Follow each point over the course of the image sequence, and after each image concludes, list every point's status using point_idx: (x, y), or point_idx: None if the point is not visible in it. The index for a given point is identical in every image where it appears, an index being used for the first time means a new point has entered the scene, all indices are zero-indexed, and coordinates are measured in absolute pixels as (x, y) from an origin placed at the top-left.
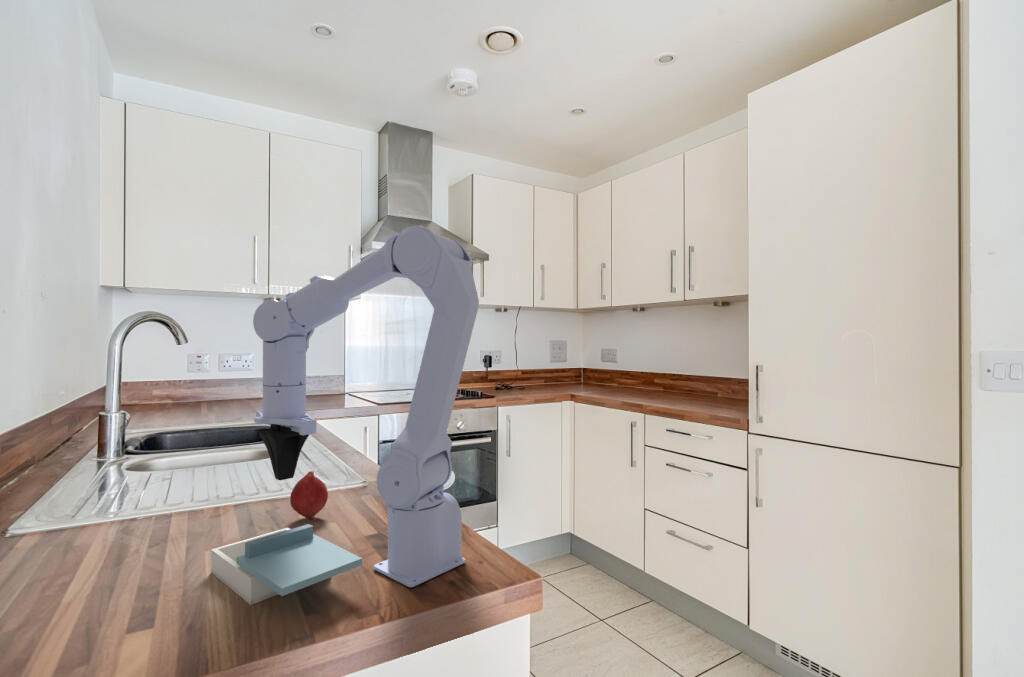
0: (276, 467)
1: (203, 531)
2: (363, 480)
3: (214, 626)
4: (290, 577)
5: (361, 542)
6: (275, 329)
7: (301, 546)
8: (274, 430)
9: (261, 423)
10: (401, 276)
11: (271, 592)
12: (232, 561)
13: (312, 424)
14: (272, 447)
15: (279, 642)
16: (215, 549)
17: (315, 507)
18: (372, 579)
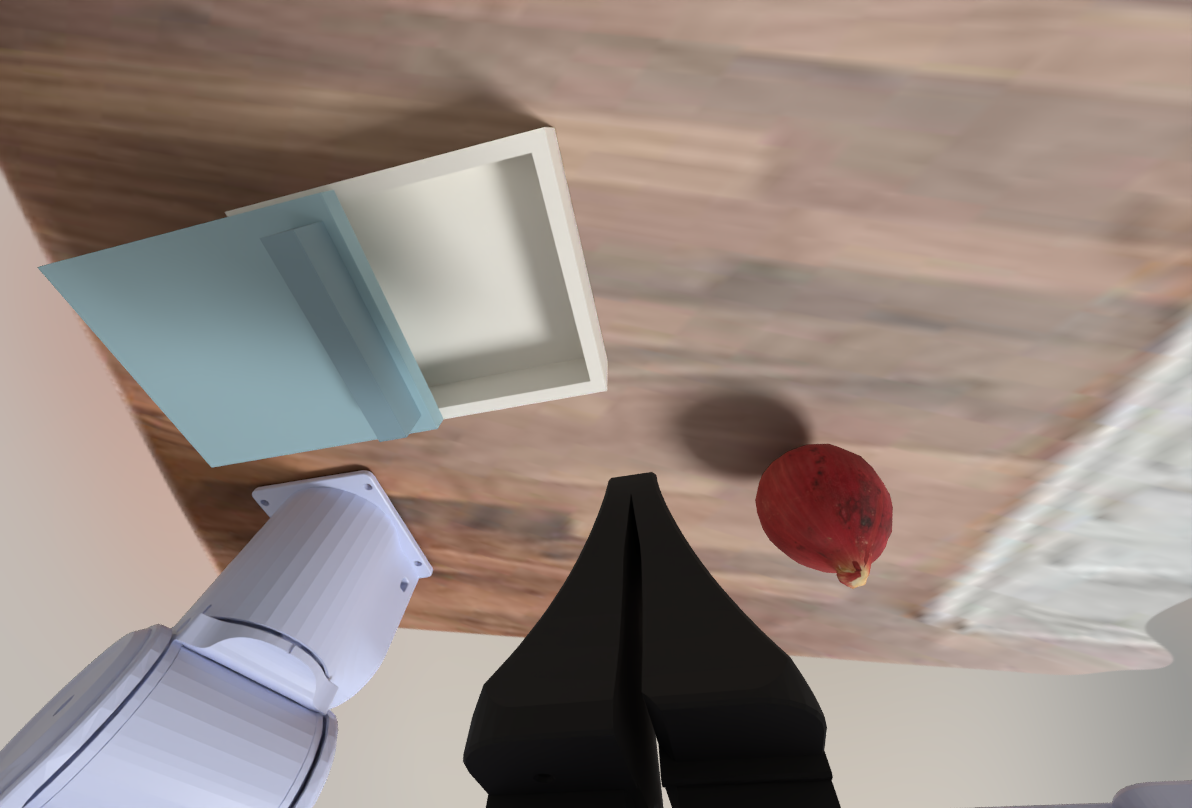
0: (607, 516)
1: (995, 153)
2: (971, 627)
3: (178, 88)
4: (111, 303)
5: (536, 496)
6: None
7: (342, 380)
8: (704, 770)
9: (1119, 797)
10: None
11: None
12: (386, 183)
13: None
14: (602, 613)
15: (75, 223)
16: (537, 143)
17: (757, 491)
18: (327, 452)
